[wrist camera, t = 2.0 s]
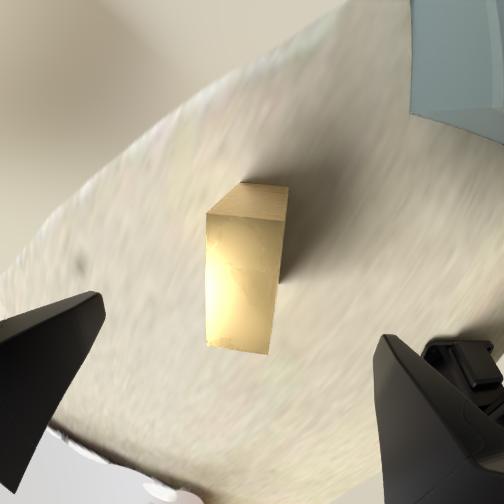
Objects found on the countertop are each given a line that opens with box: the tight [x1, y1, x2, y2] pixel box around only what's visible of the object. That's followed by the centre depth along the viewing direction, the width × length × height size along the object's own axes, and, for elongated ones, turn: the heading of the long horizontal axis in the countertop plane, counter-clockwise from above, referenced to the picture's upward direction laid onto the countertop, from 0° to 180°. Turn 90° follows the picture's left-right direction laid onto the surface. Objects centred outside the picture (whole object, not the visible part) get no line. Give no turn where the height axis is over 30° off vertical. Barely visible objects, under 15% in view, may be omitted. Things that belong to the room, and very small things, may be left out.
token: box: [206, 182, 289, 355], centre depth 13 cm, size 6×2×6 cm, turn 176°
